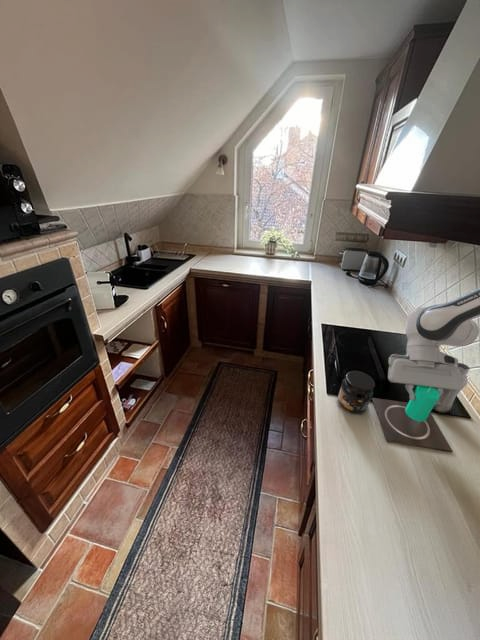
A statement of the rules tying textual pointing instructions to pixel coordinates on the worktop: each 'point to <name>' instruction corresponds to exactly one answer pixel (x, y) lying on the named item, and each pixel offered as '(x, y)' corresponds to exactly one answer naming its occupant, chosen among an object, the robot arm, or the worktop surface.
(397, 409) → the brown square pad
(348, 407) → the supplement container
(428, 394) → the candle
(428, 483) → the worktop surface
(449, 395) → the plastic bottle
